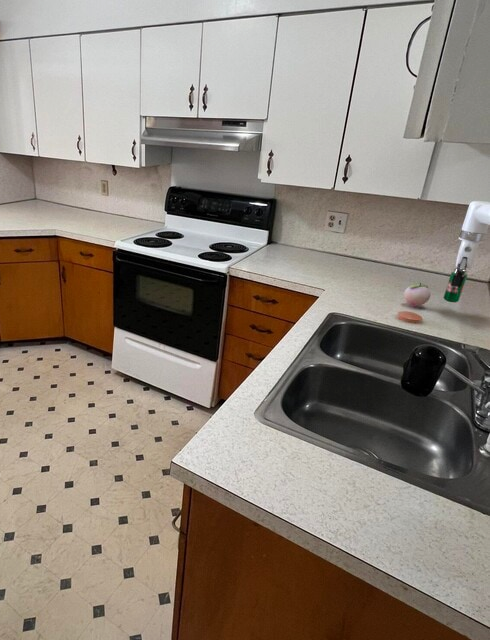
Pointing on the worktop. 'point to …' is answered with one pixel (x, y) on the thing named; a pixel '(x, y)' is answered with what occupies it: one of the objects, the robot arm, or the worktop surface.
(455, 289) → the soda can
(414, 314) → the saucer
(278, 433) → the worktop surface
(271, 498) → the worktop surface
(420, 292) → the decorative fruit
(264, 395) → the worktop surface
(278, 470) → the worktop surface
